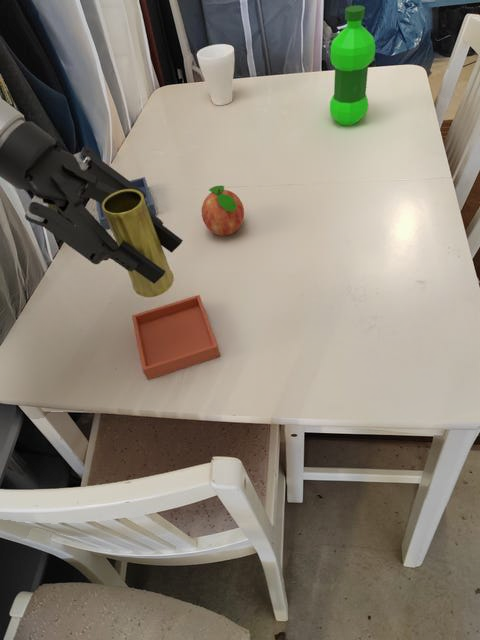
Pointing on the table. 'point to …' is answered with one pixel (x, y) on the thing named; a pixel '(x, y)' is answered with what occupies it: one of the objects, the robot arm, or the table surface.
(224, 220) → the fruit
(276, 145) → the table surface
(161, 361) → the terracotta tray
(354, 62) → the plastic bottle
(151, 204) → the slate tray
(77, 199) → the robot arm
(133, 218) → the vase
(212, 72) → the cup
